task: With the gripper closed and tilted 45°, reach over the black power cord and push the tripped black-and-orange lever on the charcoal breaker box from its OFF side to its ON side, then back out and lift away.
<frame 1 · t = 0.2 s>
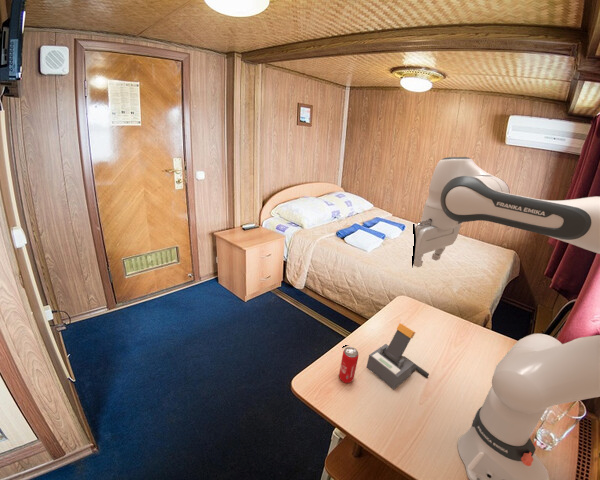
hand: (426, 262, 87), 48 cm above the table, tool pointing down, fingers open, 8 cm apart
breaker lever: (392, 356, 108), point 7 cm above the table, hinge at 30.0°
power cord: (415, 368, 113), on the table
breaker housing: (388, 371, 110), on the table
beverage can: (345, 378, 106), on the table
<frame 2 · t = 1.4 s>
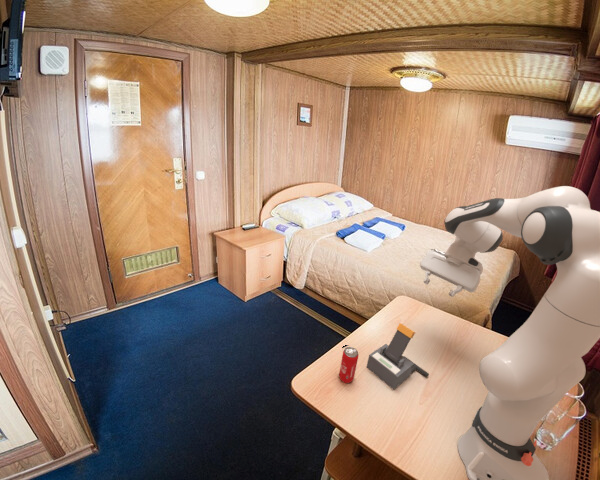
hand: (437, 289, 108), 30 cm above the table, tool tilted 45°, fingers open, 8 cm apart
nothing on the table moved.
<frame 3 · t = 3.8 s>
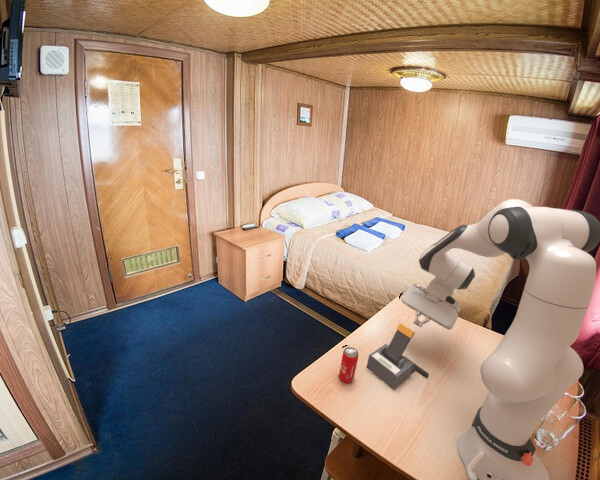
hand: (416, 325, 112), 16 cm above the table, tool tilted 45°, fingers closed
nothing on the table moved.
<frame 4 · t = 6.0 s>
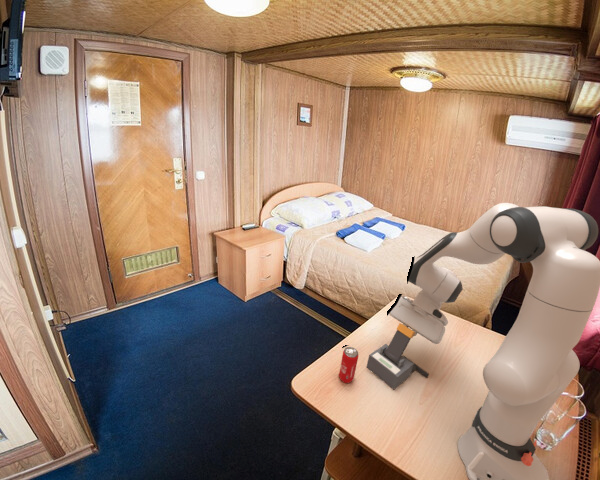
hand: (403, 338, 108), 13 cm above the table, tool tilted 45°, fingers closed, pressing on breaker lever
breaker lever: (392, 356, 108), point 7 cm above the table, hinge at 29.5°, touching gripper
everything else where it was.
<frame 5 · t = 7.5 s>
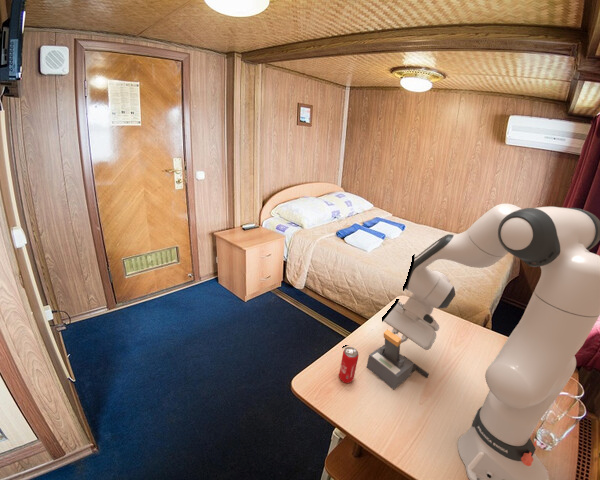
hand: (393, 343, 105), 13 cm above the table, tool tilted 45°, fingers closed, pressing on breaker lever
breaker lever: (392, 356, 108), point 7 cm above the table, hinge at -18.1°, touching gripper
everything else where it was.
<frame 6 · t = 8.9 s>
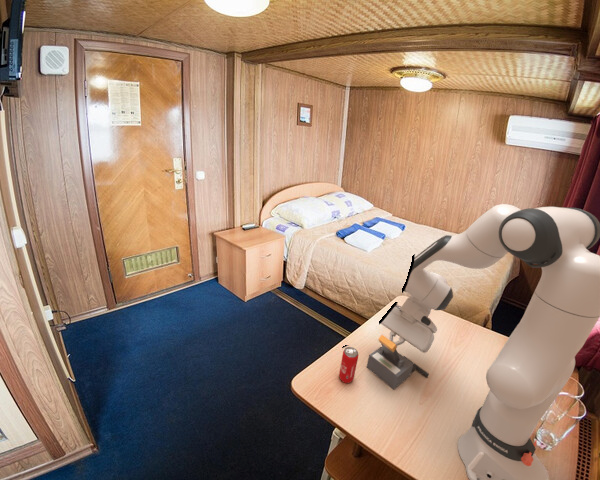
hand: (390, 346, 104), 13 cm above the table, tool tilted 45°, fingers closed, pressing on breaker lever
breaker lever: (392, 356, 108), point 7 cm above the table, hinge at -32.2°, touching gripper
everything else where it was.
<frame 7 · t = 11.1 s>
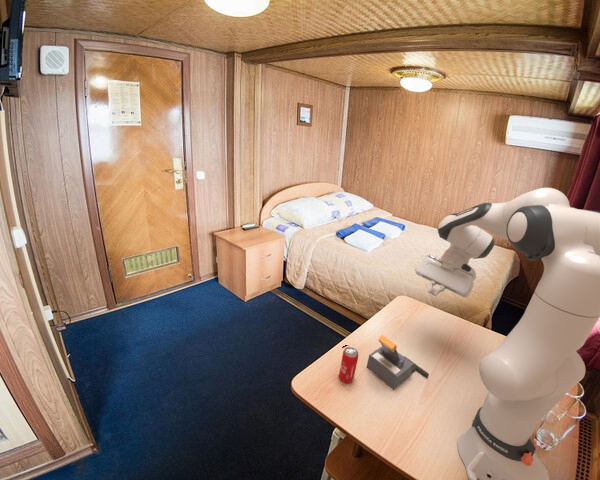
hand: (431, 294, 111), 27 cm above the table, tool tilted 45°, fingers closed
breaker lever: (392, 356, 108), point 7 cm above the table, hinge at -32.2°
everything else where it was.
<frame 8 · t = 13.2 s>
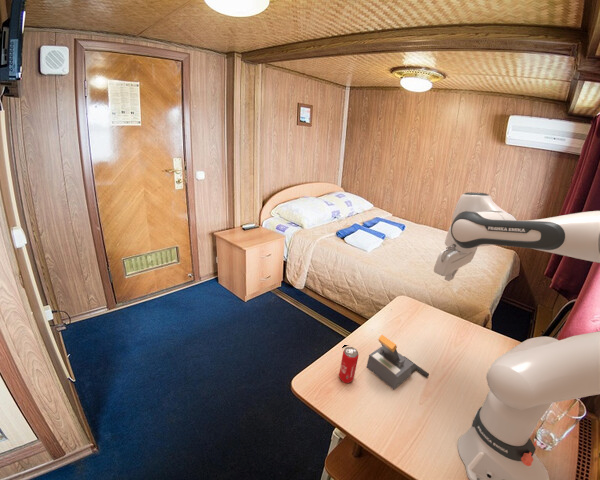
hand: (448, 279, 101), 37 cm above the table, tool pointing down, fingers closed
nothing on the table moved.
at the end: breaker lever at -32° (first picture: +30°); beverage can moved 0.2 cm from its start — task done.
